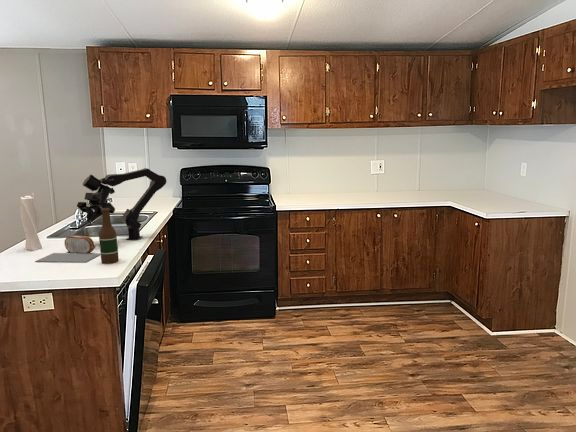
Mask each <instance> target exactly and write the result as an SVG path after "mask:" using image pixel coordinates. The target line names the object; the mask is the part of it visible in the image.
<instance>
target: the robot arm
mask: <svg viewBox="0 0 576 432" xmlns="http://www.w3.org/2000/svg"><path fill="white" fill-rule="evenodd" d="M144 177H146V178H147V179H149V180H150V183H149V186H148V188H147V189H146V190H145V192H144V193H143V194H142V195H141V197H140V198H139V199H138V201H137V202H136V203H135V204H134V205H133V207H131V208H127V209H126V210H125V211H124V213H122V217H121V221H122V222H123V224H125V226H126V227H127V230H128V231H127V233H128V237H126V238H125V239H126V240H127V241H128V240H130V241H133V240H140V239H141V238H143V236H142V235H140V234H141V232H140V228H141V227H142V223H140V222H139V221H138V220H139V217H140V214H141V212H142V211H143V209H144V208H145V207H146V206H147V204H148V203H149V201H150V200H151V199H152V198H153V196H155V194H156V193H157V192H158V191H159V190H161V189H162V188H163V187H165V185H166V184H167V182H168V181H167V178H166V176H164V175H160V174H158V173H156V172H155V171H152V170H151V169H149V168H146V167H144V168H142V169H137V170H134V171H130V172H129V171H128V172H124V173H112V174H111V173H110V174H109V173H108V174H106V175H105V176H104V177H103V178H100V179H99V178H97V177H95V175H93V174H91V173H90V174H89V175H88V176H87V177H86V178H85V179H84V180H83V182H82V186H83V187H85V188H86V189H88V190H90V192H85V194H84V200H87V201H88V202H86V201H78V202H77V204H76V207H77V208H78V209H79V210H80V211H81V212H82V213H86V222H87V223H89V222H91V223H92V222H95V220H97V219H98V218H99V217H102V211H101V209H102V208H109V209H110V211H109V213H110V214H115V212H116V208H115V206H114V205H113V204H112V203H111V202H108V201H109V200H108V197H109V196H110V195H113V194H115V193H116V192H115V190H114V187H116V186H118V185H120V184H123V183H124V182H126V181H130V180H135V179H140V178H144ZM94 191H96V192H94Z"/></svg>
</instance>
